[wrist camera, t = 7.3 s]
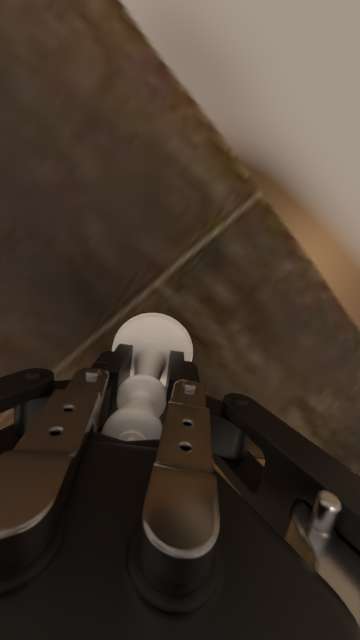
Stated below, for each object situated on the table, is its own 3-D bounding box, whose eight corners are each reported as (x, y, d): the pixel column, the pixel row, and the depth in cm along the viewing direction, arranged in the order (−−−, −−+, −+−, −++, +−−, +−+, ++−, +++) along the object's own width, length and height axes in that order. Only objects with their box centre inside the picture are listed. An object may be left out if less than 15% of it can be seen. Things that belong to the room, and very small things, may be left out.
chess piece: (208, 358, 16) (258, 505, 7) (147, 402, 17) (109, 595, 7) (159, 295, 15) (133, 360, 6) (96, 344, 16) (-26, 478, 6)
